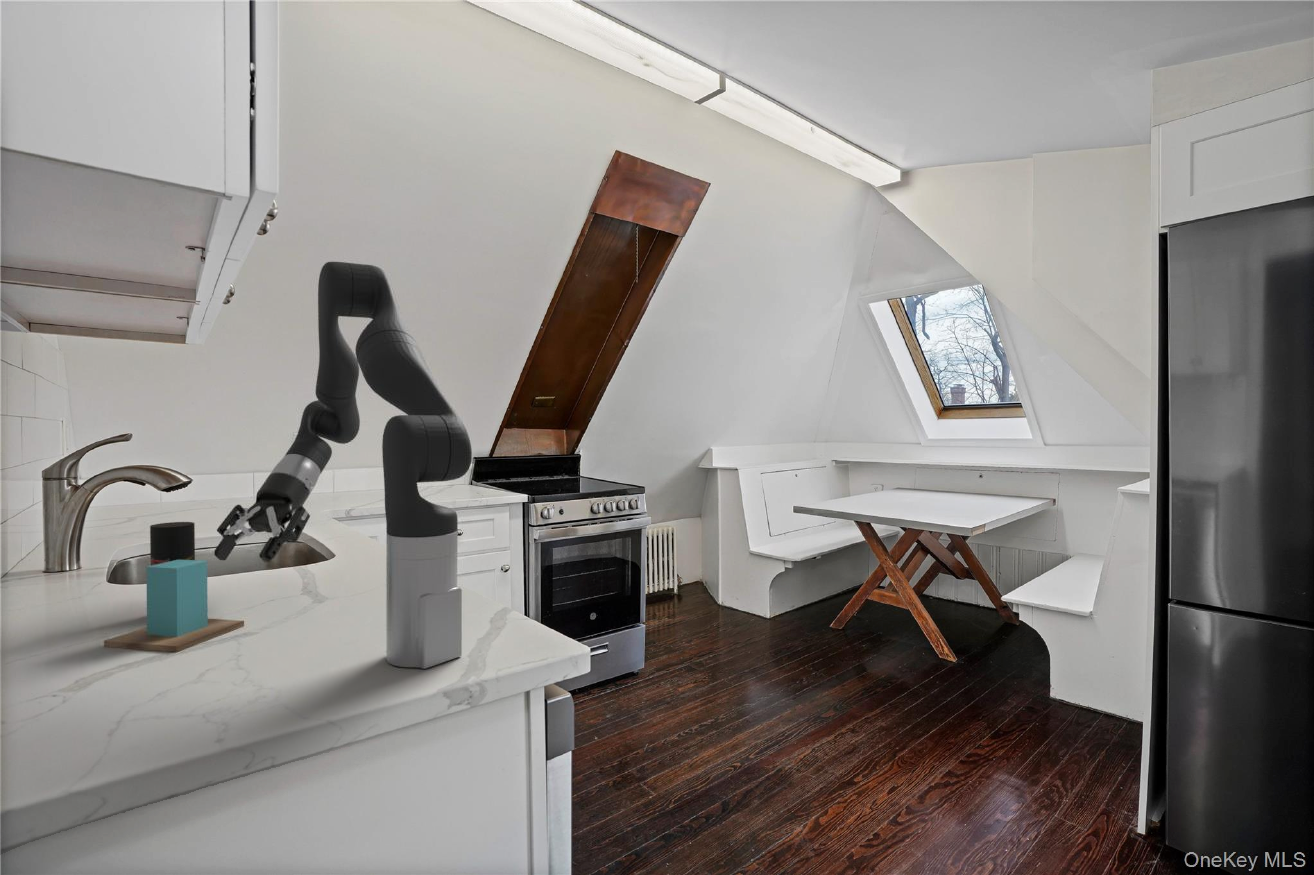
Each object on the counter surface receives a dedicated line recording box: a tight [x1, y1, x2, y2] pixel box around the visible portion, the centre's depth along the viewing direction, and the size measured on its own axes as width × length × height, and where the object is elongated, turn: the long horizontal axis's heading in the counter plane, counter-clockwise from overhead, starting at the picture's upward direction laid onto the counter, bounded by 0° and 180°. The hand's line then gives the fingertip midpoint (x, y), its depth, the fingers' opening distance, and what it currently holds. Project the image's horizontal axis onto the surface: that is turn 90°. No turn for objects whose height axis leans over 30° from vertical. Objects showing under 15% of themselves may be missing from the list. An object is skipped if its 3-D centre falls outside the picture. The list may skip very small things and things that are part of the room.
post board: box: [103, 618, 245, 653], centre depth 99 cm, size 12×12×8 cm
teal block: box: [145, 559, 209, 637], centre depth 99 cm, size 5×5×10 cm
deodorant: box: [149, 521, 196, 566], centre depth 109 cm, size 6×6×15 cm
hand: (241, 558), depth 110 cm, fingers open, 8 cm apart
